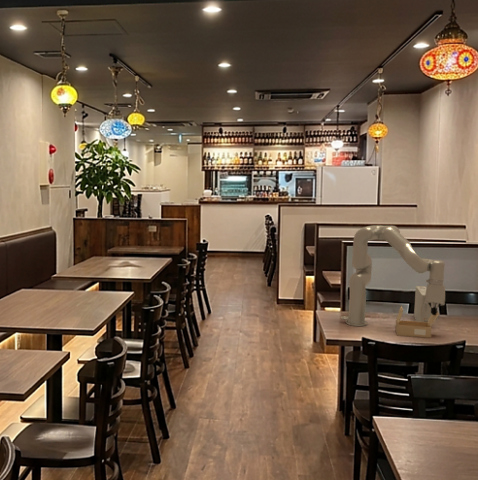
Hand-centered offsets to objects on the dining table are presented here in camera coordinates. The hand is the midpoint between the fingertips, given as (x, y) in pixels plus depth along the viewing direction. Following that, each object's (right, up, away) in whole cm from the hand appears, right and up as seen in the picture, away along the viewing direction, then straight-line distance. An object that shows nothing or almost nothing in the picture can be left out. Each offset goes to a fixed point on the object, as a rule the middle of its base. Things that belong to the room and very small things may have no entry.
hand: (433, 314), depth 299 cm
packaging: (+4, -9, +31) cm, 33 cm away
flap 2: (-2, -5, +1) cm, 6 cm away
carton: (-11, -12, +3) cm, 16 cm away
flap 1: (-19, -5, +4) cm, 20 cm away
